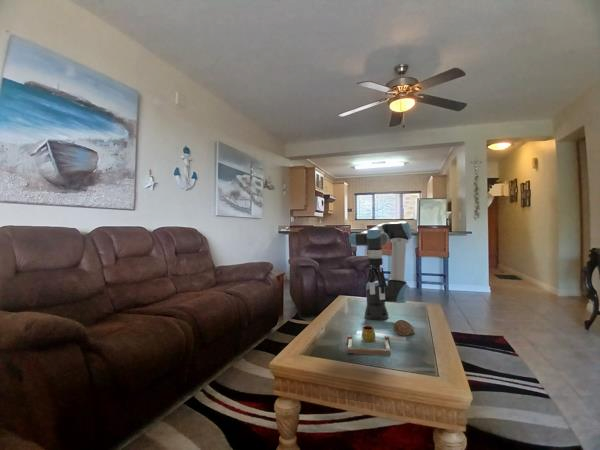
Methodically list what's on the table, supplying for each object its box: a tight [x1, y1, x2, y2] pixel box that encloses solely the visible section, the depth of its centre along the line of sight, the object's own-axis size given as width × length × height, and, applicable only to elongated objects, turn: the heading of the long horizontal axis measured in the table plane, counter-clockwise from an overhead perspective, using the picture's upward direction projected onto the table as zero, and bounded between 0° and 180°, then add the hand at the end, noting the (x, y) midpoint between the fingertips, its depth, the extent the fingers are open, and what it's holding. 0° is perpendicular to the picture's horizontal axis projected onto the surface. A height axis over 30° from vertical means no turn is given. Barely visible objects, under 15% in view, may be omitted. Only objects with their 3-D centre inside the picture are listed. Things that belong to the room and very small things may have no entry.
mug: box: [361, 324, 376, 343], centre depth 158 cm, size 12×7×7 cm, turn 175°
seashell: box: [393, 319, 415, 337], centre depth 163 cm, size 10×9×10 cm
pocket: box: [346, 334, 391, 356], centre depth 145 cm, size 16×21×3 cm
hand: (377, 296), depth 163 cm, fingers open, 13 cm apart
